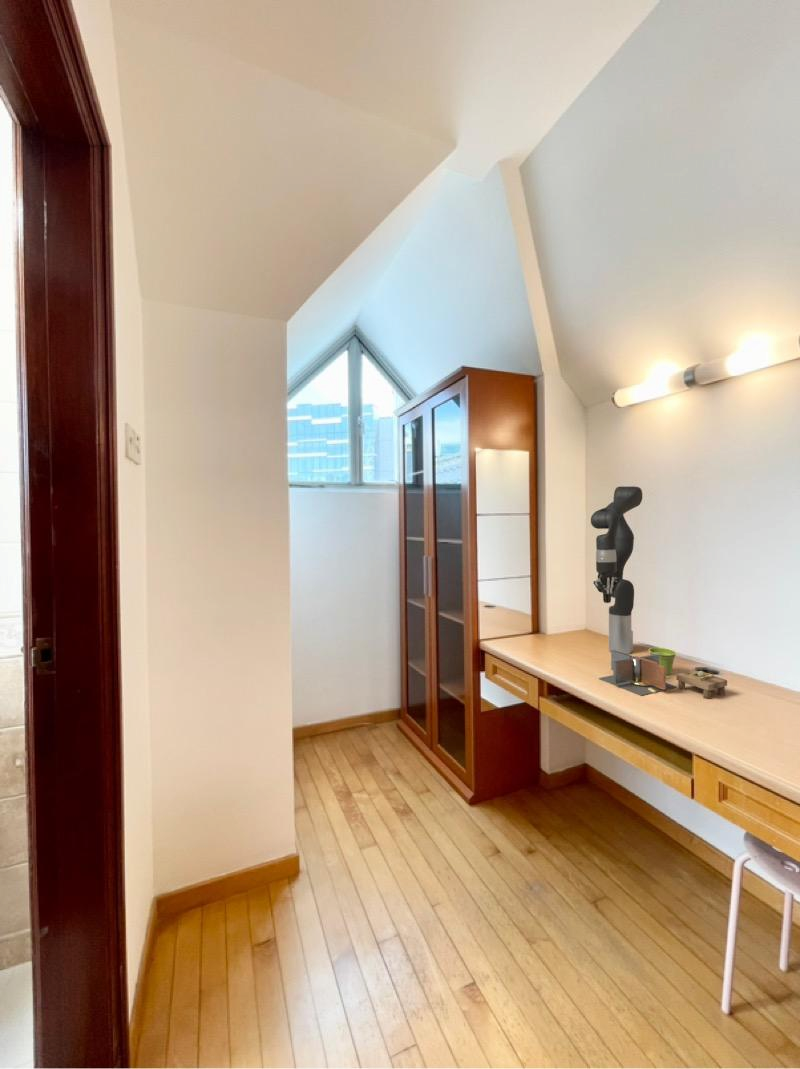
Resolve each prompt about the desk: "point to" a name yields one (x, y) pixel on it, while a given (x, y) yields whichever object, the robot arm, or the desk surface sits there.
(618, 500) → the robot arm
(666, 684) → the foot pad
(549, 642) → the desk surface
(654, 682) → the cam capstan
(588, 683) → the desk surface
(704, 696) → the level stand
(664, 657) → the plant pot
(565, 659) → the desk surface
